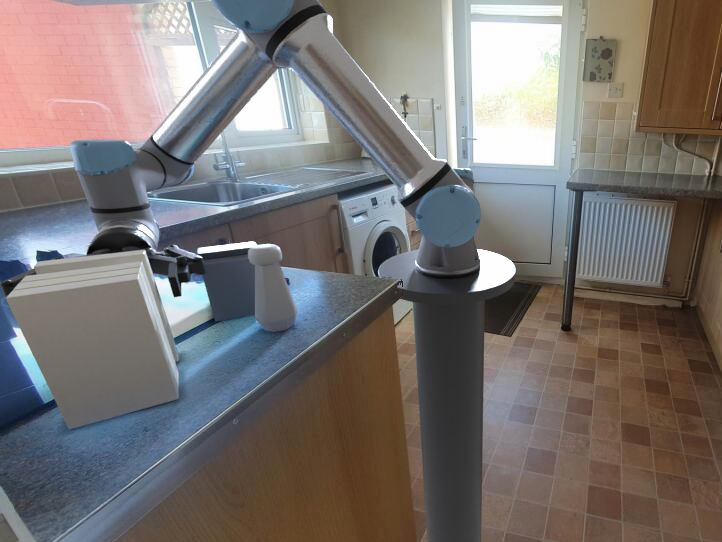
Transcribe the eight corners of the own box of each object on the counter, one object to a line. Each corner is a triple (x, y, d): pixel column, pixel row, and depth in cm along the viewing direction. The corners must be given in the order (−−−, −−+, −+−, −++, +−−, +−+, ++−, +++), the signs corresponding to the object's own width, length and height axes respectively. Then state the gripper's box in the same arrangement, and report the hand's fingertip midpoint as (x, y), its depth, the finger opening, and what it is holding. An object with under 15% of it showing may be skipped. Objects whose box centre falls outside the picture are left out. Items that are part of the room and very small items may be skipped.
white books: (178, 372, 52) (142, 261, 46) (178, 399, 47) (137, 279, 41) (80, 397, 47) (25, 275, 41) (68, 430, 42) (5, 298, 36)
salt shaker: (253, 336, 61) (234, 253, 56) (262, 319, 66) (245, 241, 61) (297, 332, 62) (282, 251, 57) (302, 315, 67) (288, 239, 62)
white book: (178, 354, 56) (145, 249, 50) (178, 361, 54) (144, 253, 48) (87, 375, 51) (38, 261, 45) (84, 383, 49) (33, 266, 43)
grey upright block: (265, 294, 75) (253, 238, 71) (272, 310, 69) (260, 250, 65) (212, 303, 70) (196, 245, 66) (215, 322, 64) (197, 259, 60)
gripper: (223, 259, 72) (234, 303, 57) (20, 287, 59) (-39, 355, 43) (212, 218, 69) (222, 252, 54) (-3, 236, 56) (-76, 289, 40)
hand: (106, 298), depth 48 cm, fingers open, 12 cm apart
